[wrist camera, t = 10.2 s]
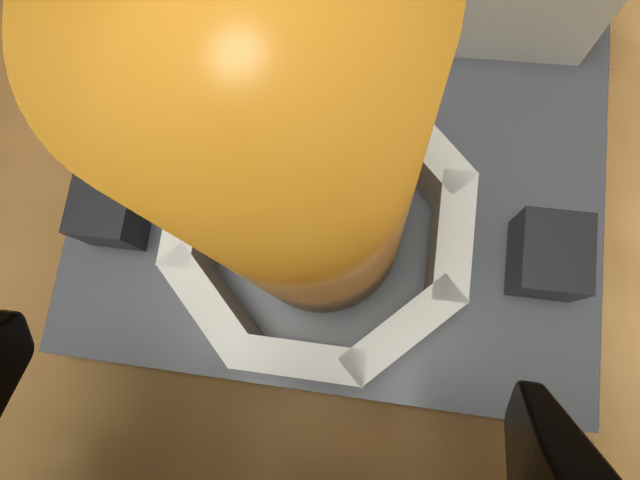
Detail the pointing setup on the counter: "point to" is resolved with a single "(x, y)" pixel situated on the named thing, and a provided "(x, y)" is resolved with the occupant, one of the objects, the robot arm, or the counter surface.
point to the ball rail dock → (402, 250)
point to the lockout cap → (245, 123)
